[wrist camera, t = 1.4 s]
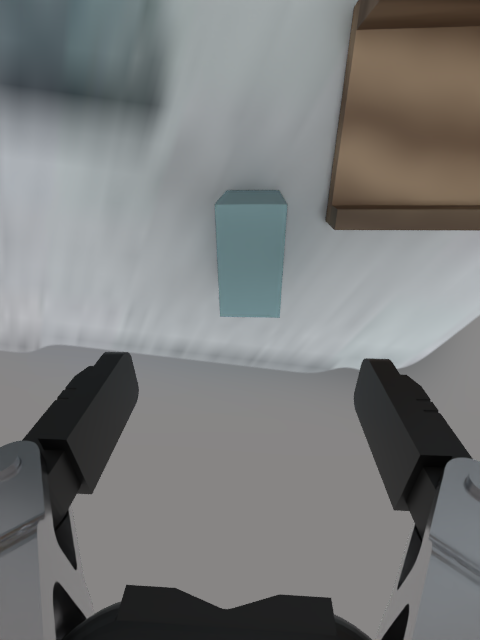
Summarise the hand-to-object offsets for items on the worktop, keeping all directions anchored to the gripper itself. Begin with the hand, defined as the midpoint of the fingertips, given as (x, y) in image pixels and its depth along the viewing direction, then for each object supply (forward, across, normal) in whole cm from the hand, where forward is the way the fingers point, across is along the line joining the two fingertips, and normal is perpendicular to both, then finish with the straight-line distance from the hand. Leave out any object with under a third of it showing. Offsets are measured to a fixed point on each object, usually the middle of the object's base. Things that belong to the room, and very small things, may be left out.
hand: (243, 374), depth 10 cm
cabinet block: (+19, 0, 0) cm, 19 cm away
